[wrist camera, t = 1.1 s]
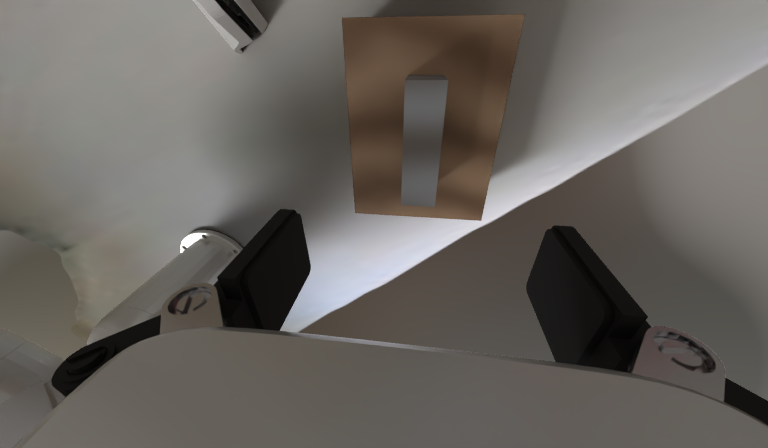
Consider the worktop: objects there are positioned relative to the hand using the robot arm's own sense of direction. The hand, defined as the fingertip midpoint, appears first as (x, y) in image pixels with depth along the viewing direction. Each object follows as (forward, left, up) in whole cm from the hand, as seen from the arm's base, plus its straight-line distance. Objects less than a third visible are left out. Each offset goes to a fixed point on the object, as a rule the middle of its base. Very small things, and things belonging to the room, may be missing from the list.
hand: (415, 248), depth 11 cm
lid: (0, 0, -19) cm, 19 cm away
